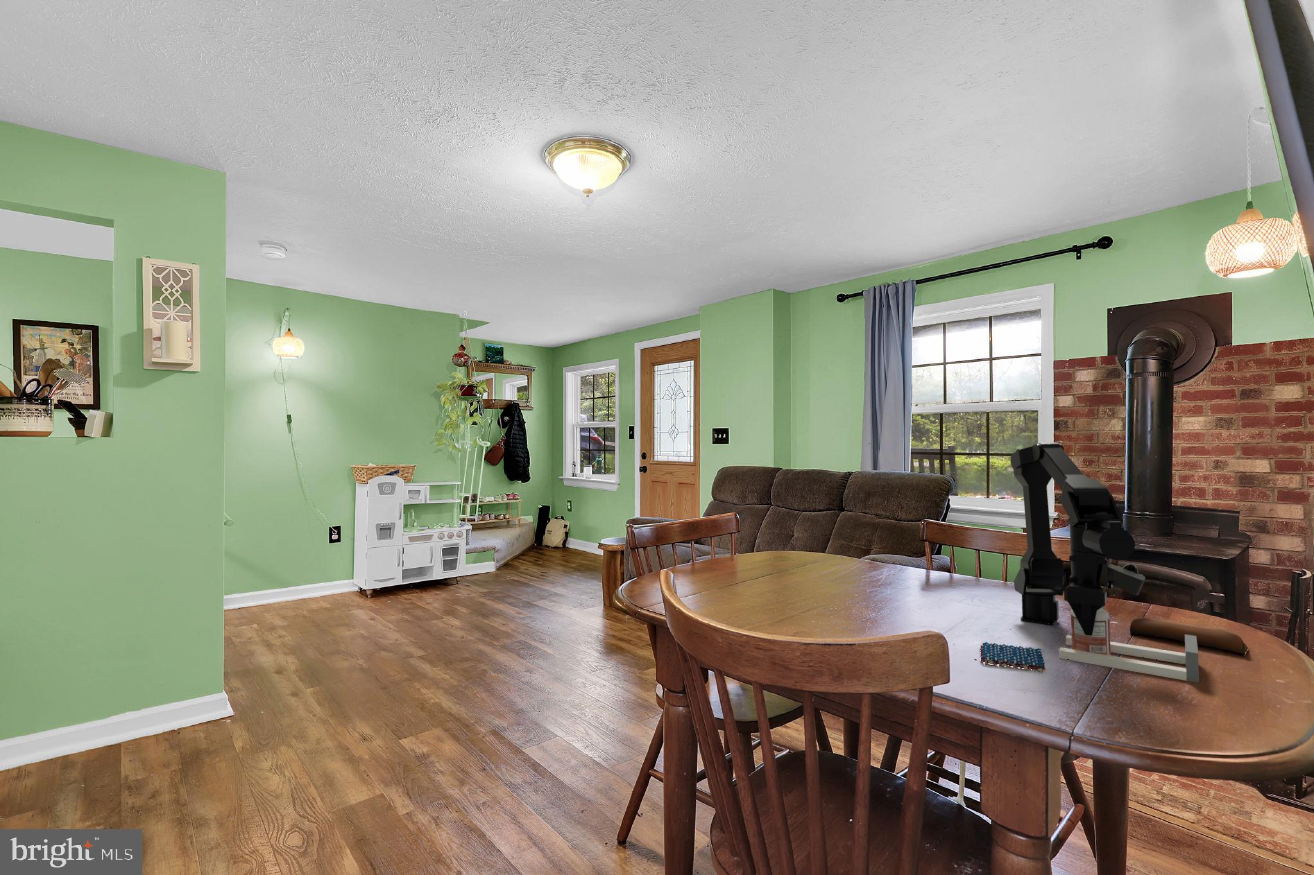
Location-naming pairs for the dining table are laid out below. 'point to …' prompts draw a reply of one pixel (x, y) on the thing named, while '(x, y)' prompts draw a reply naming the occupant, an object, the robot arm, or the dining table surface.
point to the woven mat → (1012, 656)
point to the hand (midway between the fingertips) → (1090, 631)
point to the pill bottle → (1099, 637)
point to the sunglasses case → (1188, 633)
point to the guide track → (1141, 666)
